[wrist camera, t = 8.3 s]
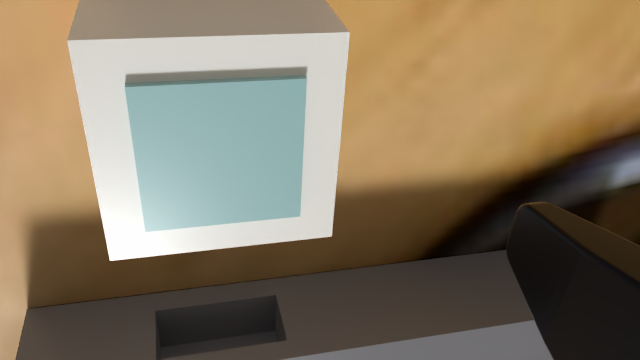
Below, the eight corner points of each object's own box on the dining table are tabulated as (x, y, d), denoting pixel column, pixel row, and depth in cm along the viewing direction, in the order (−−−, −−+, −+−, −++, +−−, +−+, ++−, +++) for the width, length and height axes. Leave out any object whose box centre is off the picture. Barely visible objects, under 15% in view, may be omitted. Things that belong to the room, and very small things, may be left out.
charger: (288, -48, 14) (352, 35, 10) (282, 176, 18) (327, 310, 13) (94, -48, 13) (66, 43, 9) (130, 189, 17) (123, 339, 12)
